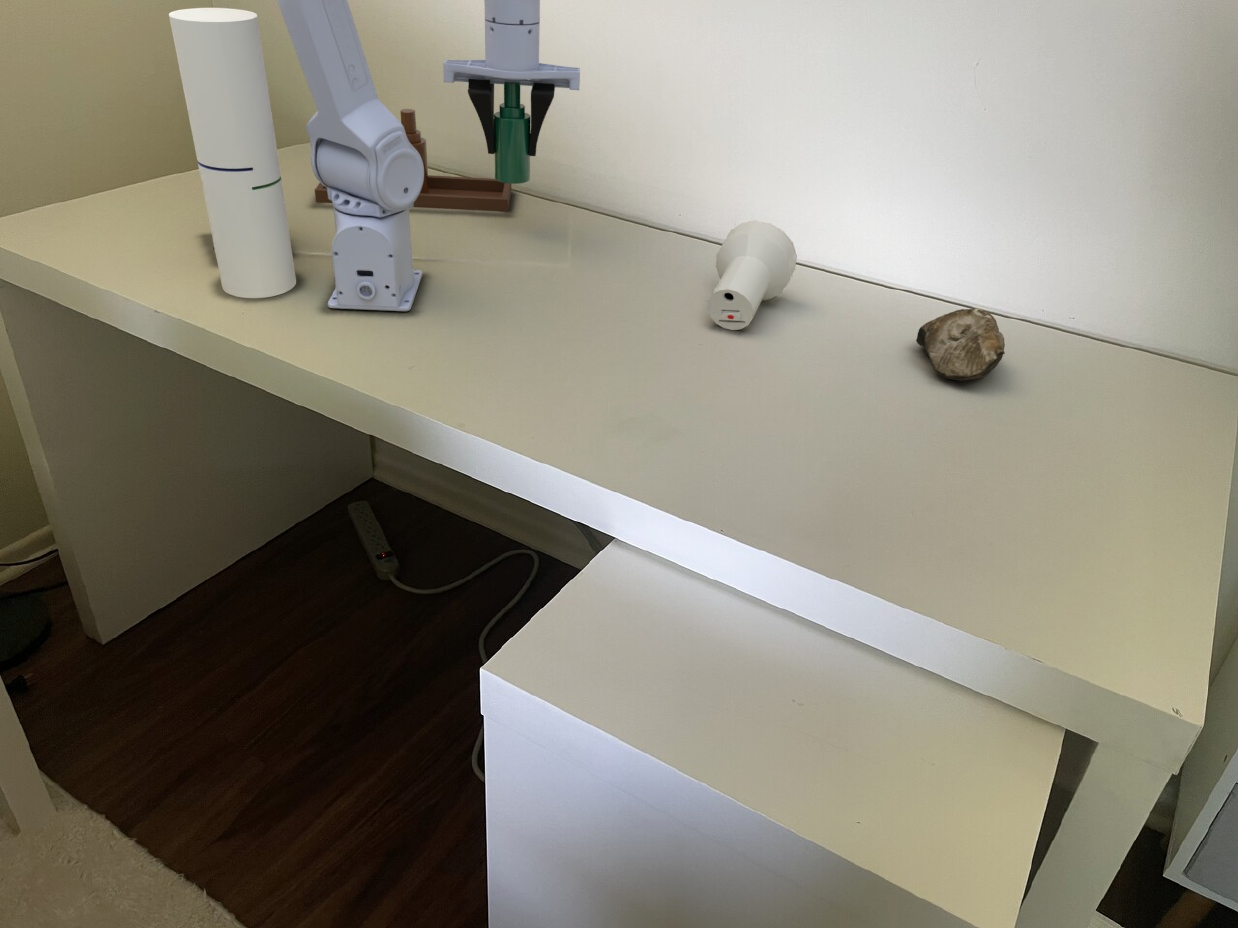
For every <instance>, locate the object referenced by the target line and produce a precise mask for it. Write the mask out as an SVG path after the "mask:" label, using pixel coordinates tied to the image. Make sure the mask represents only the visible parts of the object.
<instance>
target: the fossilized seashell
mask: <svg viewBox="0 0 1238 928" xmlns="http://www.w3.org/2000/svg"><path fill="white" fill-rule="evenodd" d="M999 329H1000V328H999V326H998V322H997V320H996V318H995V317H994V316H993V315H992V314H991V313H990V312H988V311H986V310H984V309H980V308H962V309H961V308H960V309H957V310H954V311H951V312H948V313H946V314H943V315H941V316H938V317H936V318H935V319H932V320H930V321H927V322H926V323H924V324H923V325H921V326H920V327H919V329H918V332H917V336H916V339H915V342H916V343H917V344H918V345H919V346H920V347H922V348H924V349H925V351H926V354H927V357H928V359H929V361H930V363H931V365H932V367H933V369H934V371H935V372H936V373H937V375H939V376H941V377H943V378H944V379H948V380H950V379H951V380H956V381H962V382H963V381H974V380H978V379H980V378H983V377H986V376H987V375H989V373H991V372H992V371H993V370H995V369H996V367H997V366H998V365H999V363H1000V362H1001V361H1002V359H1003V356H1004V355H1005V354H1006V352H1005V346H1006V344H1005V337H1004V335H1003V333H1002V332H1001V331H1000V330H999Z"/></svg>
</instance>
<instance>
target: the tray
mask: <svg viewBox="0 0 1238 928" xmlns="http://www.w3.org/2000/svg"><path fill="white" fill-rule="evenodd" d="M428 183H429V194H426V193H419V195H418V197H417V199H416V200H415V201H414V202H413V205H414V207H413V208H421V209H422V208H423V209H424V208H426V209H442V210H443V209H445V210H466V211H485V212H504V213H505V212H507V213H508V212H509V207H510V202H511V196H512V184H509V183H503V182H500V181H497V180H496V179H495V178H490V177H489V178H487V177H470V176H468V177H467V176H452V175H451V176H450V175H449V176H448V175H431V174H428ZM314 197H315V202H316V203H321V204H322V203H323V204H324V203H325V204H333V203H332V201H331V200H329V199H328V193H327V187H325V186H323V185H322V184H321V183H320V182H319V183H318V185H317V186H316V188H315V189H314Z"/></svg>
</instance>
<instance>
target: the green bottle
mask: <svg viewBox="0 0 1238 928" xmlns="http://www.w3.org/2000/svg"><path fill="white" fill-rule="evenodd" d="M521 86H522V85H520V83H518V82H504V84H503V102H502V103H500V104H499V107H498V108H499V111H497V112H494V143H495V153H494V179H496V180H497V181H500V182H503V183H509V184H511V185H518V184H519V185H521V184H525V183H528V182H529V181H530V180H531V156H529V144H530V133H531V114H529V113H528V112H526V106H525V105H524V104H523V103H521V102H522V101H521V100H522V99H521V97H522V96H521V95H522V93H521V91H522V89H521V88H522V87H521Z"/></svg>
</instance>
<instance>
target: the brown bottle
mask: <svg viewBox="0 0 1238 928" xmlns="http://www.w3.org/2000/svg"><path fill="white" fill-rule="evenodd" d="M399 111H400V112H399V113H400V123H401V124H402V125H403V127H404V130H405V133H406V136H407V138H408V140H409V142H410V144H411V145H412V146H413V147H414V148H415V149H416V150H417V151H418V153H419V154H420V156H421V159H422V162H423V166H424V181H423V186H422V189H421V191H420V193H426V194H429V183H428V175H429V169H428V148H427V139H425V138H424V137H422V133H421V131H420V130H419V129H417V118H416V117H417V113H416V110H415V109H412V108H403V109H400V110H399Z"/></svg>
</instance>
